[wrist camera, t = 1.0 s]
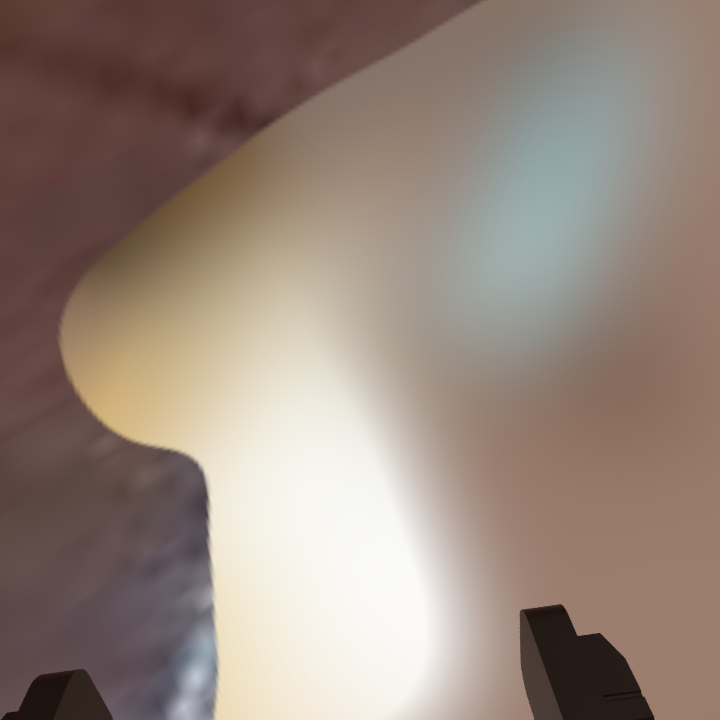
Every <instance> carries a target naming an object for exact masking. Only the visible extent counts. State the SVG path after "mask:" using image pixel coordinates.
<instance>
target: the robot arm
mask: <svg viewBox="0 0 720 720" xmlns="http://www.w3.org/2000/svg"><path fill="white" fill-rule="evenodd" d="M520 646H521V647H520V650H521V651H520V653H521V669H522V675H523V680H524V685H525V689H526V693H527V697H528V700H529V704H530V706H531V710H532V713H533V716H534V720H654V716H653V714H652V712H651V710H650V708H649V705H648V703H647V701H646V699H645V697H643V696H642V694H641V690H640V687H639V685H638V683H637V681H636V679H635V677H634V675H633V673H632V671H631V669H630V667H629V665H628V663H627V661H626V659H625V658H624V657H623V656H622V655H621V654H620V653H619V652H618V651H617V650H616V649H615V648H614V647H613V646H612V645H611V644H610V643H609V642H608V641H607V640H606V639H605V638H604V637H603V636H602V635H601V634H600V633H597V634H590V635H582V636H577V634H576V632H575V629H574V627H573V625H572V622H571V620H570V618H569V615H568V613H567V611H566V609H565V608H564V606H563V605H561V604H559V605H552V606H545V607H538V608H531V609H523V610H521V611H520ZM1 720H113V718H112V716H111V713H110V712H109V710H108V708H107V706H106V705H105V703H104V701H103V699H102V697H101V696H100V694H99V692H98V690H97V689H96V687H95V685H94V683H93V681H92V680H91V678H90V676H89V674H88V673H87V672H86V671H85V670H83V669H79V670H71V671H64V672H57V673H50V674H43V675H40V676H38V677H37V678H36V679H35V680H34V681H33V682H32V684H31V685H30V687H29V689H28V691H27V694H26V696H25V698H24V700H23V702H22V704H21V706H20V709H19V711H17V712H9V713H6V714H5V716H4V717H3V718H2V719H1Z"/></svg>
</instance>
